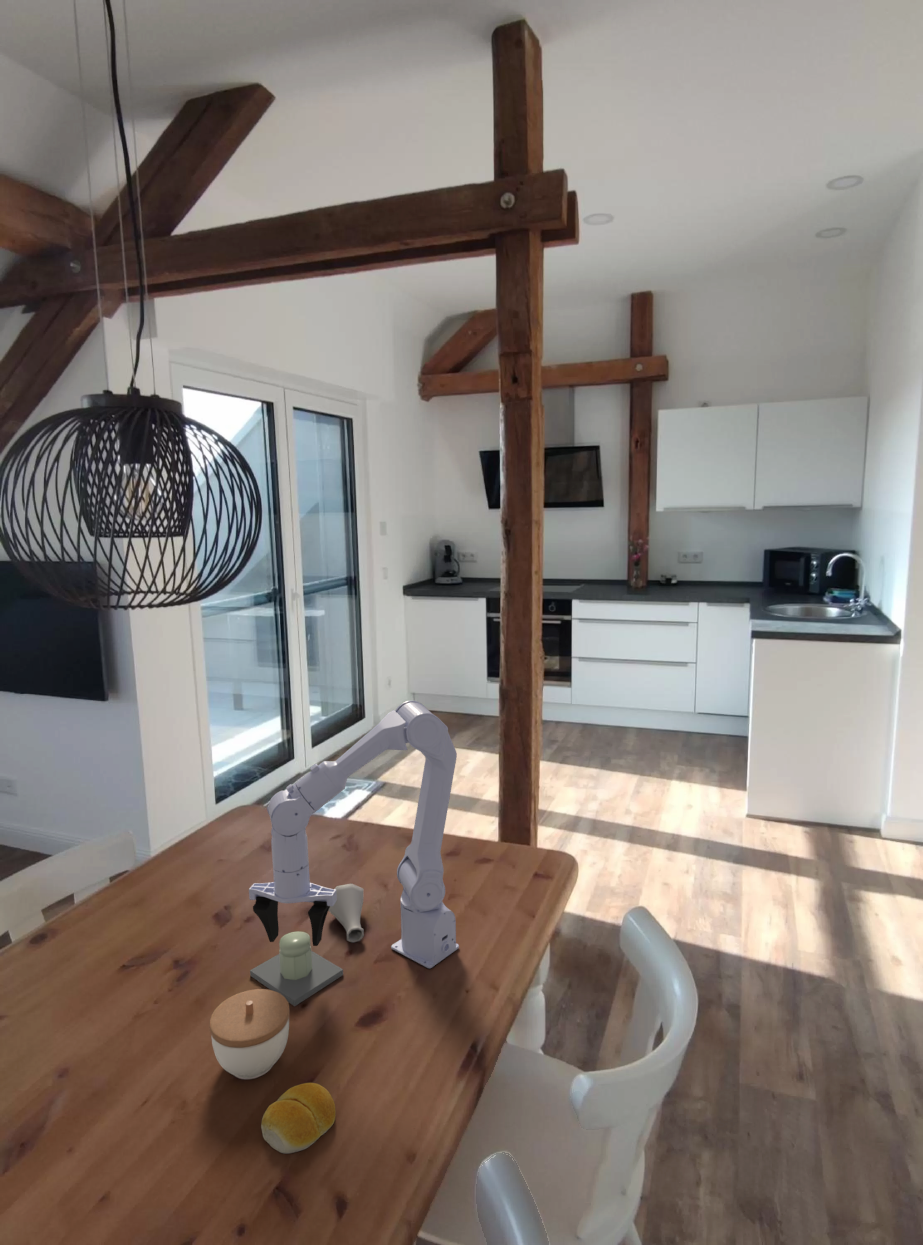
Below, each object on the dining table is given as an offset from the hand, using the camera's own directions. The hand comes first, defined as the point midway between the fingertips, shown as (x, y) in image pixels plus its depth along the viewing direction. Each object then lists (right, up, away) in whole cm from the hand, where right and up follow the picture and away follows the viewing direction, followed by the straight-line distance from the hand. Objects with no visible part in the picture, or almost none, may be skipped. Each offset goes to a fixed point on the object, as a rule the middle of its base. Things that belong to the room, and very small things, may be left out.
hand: (295, 940), depth 120 cm
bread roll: (+7, -11, -29) cm, 31 cm away
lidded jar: (-2, -10, -18) cm, 21 cm away
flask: (+5, 0, +19) cm, 19 cm away
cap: (0, -5, +1) cm, 5 cm away
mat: (0, -6, +1) cm, 6 cm away
